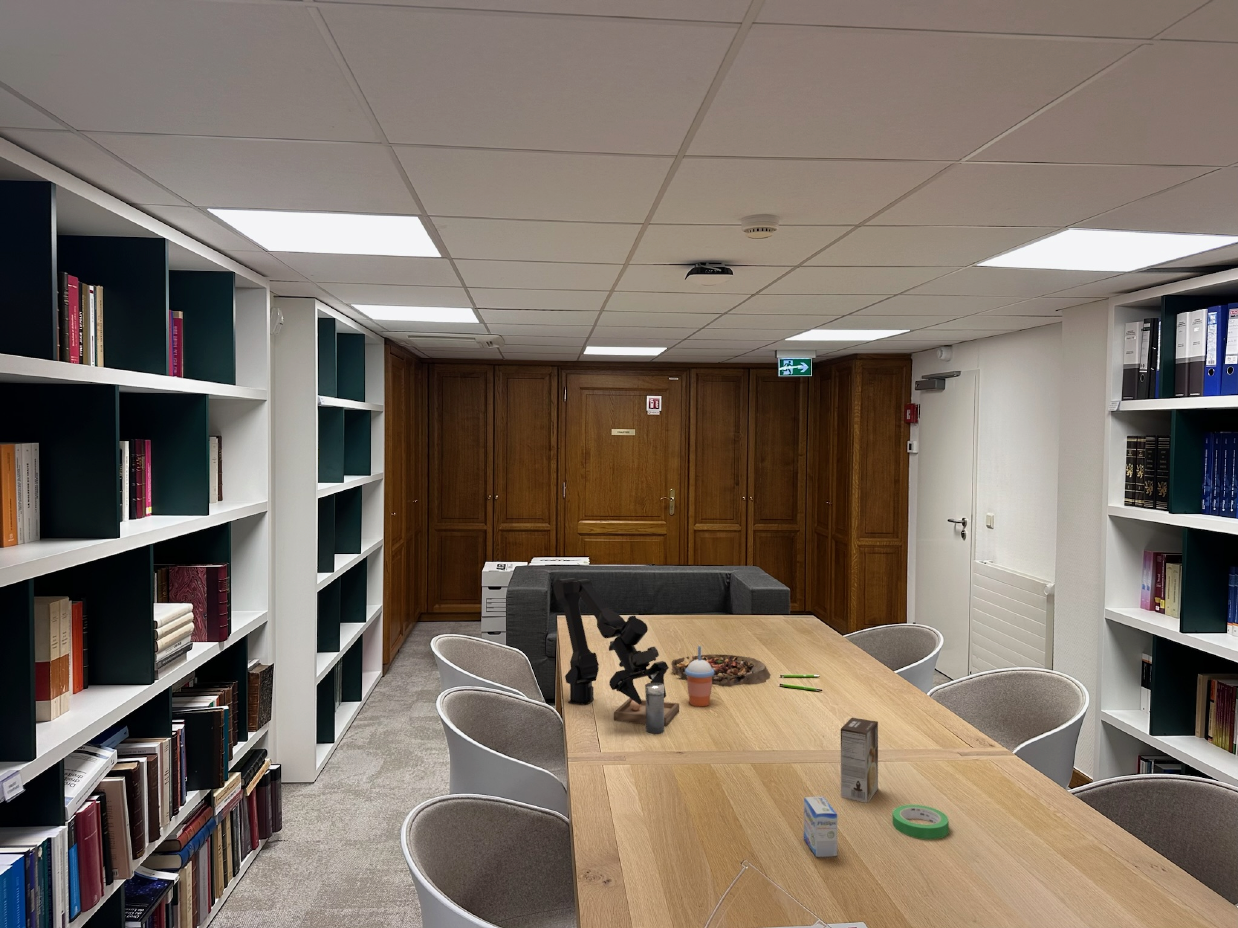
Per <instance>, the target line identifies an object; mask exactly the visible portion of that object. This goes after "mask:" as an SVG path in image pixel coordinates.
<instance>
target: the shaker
mask: <svg viewBox="0 0 1238 928" xmlns="http://www.w3.org/2000/svg"><path fill="white" fill-rule="evenodd" d="M664 686H665V683H664V684H662V683H651V682H647V683H646V684H645V685H644V692H645V700H646V724H645V732H646V734H649V735H659V734H660V735H661V734H663V733H665V726H664V702H665V698H664Z"/></svg>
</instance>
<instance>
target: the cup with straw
mask: <svg viewBox="0 0 1238 928" xmlns="http://www.w3.org/2000/svg"><path fill="white" fill-rule="evenodd" d="M701 655H702V647H701V645H699V646H697V656H698V660H694V661H692V662H691V663H690V664H689V665H688V668H686V670H685V674H686V675H687V678H688V679H687V681H686V682H687V693H688V698H689V704H690V705H692V706H693V707H707V706H709V705H710V702H711V694H712V688H713V686H712V676H713V675H714V670H713V669H712V668H711V666H710V664H709V663H708V662H707V661H705V660H701Z"/></svg>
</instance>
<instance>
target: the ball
mask: <svg viewBox="0 0 1238 928" xmlns="http://www.w3.org/2000/svg"><path fill="white" fill-rule="evenodd" d="M630 707H631V709H633V710H638V709H640V707H641V704H640V705H639V704H638V703H636V702H635V701H634V700H632V701H631V703H630Z"/></svg>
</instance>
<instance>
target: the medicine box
mask: <svg viewBox="0 0 1238 928" xmlns="http://www.w3.org/2000/svg"><path fill="white" fill-rule="evenodd" d="M803 799H804V800H803V839H804V841H805V842H806V844H807V845H808V847H809V848H810V850H811V851H812V852H813V854H814V856H815V857H816V858H832V857H833V858H834V857H837V856H838V813H837V812H836V811H835V809H834V808H833V807H832V806H831V804H829V802H828V800H827V799H826V798H825V796H807V797H804V798H803Z"/></svg>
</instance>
